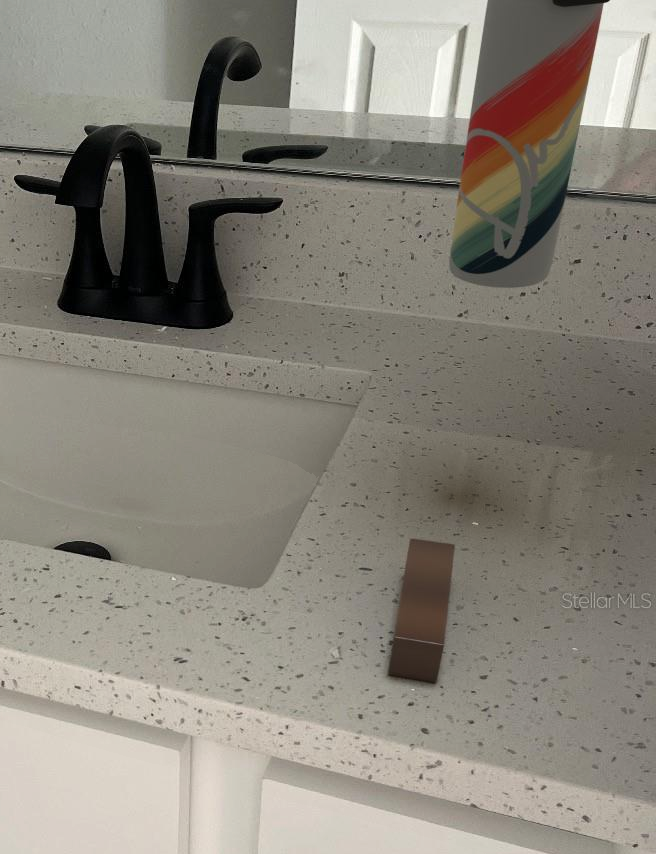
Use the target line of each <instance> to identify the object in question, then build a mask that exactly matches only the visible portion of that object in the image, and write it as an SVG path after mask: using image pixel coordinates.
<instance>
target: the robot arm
mask: <svg viewBox="0 0 656 854" xmlns="http://www.w3.org/2000/svg"><path fill="white" fill-rule="evenodd" d="M552 1H553V4H554V5H557V6H561V7H569V6H579V5H589V4H599V3H604V4H606V3H608V2H610V1H611V0H552Z"/></svg>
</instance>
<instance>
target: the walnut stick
mask: <svg viewBox="0 0 656 854" xmlns="http://www.w3.org/2000/svg"><path fill="white" fill-rule="evenodd" d="M455 546H456V545H455V544H454V543H449V542H440V541H433V540H427V539H420V538H412V537H411V538H410V539H409V543H408V549H407V554H406V560H405V561H406V562H405V568H404V574H403V579H402V585H401V591H400V597H399V604H398V608H397V615H396V620H395V621H396V622H395V628H394V633H393V639H392V645H391V651H390V656H389V657H390V658H389V664H388V669H387V675H389V676H392V677H393V676H394V677H399V678H407V679H412V680H417V681H424V682H430V683H437V682H438V678H439V673H440V667H441V663H442V658H443V652H444V647H445V639H446V629H447V623H448V622H447V621H448V612H449V603H450V593H451V584H452V576H453V575H452V574H453V566H454V558H455V549H456V547H455Z"/></svg>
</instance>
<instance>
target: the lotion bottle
mask: <svg viewBox="0 0 656 854" xmlns="http://www.w3.org/2000/svg"><path fill="white" fill-rule="evenodd" d="M604 4H605V3H599V4H589V5H579V6H569V7H561V6H557V5H554V4H553V1H552V0H487V3H486V7H485V15H484V20H483V21H484V22H483V28H482V34H481V40H480V47H479V54H478V60H477V61H478V62H477V67H476V75H475V80H474V86H473V87H474V88H473V95H472V99H471V100H472V101H471V108H470V115H469V121H468V128H467V135H466V140H465V146H464V147H465V148H464V155H463V161H462V167H461V168H462V170H461V173H460V174H461V175H460V180H459V188H458V195H457V202H456V207H455V208H456V209H455V216H454V222H453V229H452V235H451V242H450V251H449V259H448V260H449V261H448V265H449V266H448V267H449V268H448V269H449V271H450V273H451V274H452V275H453V277H455V278H457V279H459V280H461V281H463V282H466V283H469V284H473V285H477V286H481V287H488V288H501V289H512V288H513V289H514V288H515V289H516V288H523V287H524V288H525V287H530V286H534V285H537V284H540V283H542V282H544V281H545V280H546V279H547V278H548V276H549V275H550V273H551V268H552V265H553V261H554V256H555V251H556V247H557V242H558V237H559V232H560V227H561V222H562V217H563V212H564V208H565V203H566V198H567V197H566V196H567V191H568V187H569V182H570V177H571V172H572V167H573V162H574V157H575V151H576V146H577V142H578V136H579V133H580V132H579V131H580V126H581V122H582V117H583V111H584V108H585V107H584V106H585V100H586V96H587V91H588V86H589V82H590V76H591V71H592V66H593V60H594V56H595V50H596V45H597V42H598V35H599V31H600V25H601V19H602V14H603V9H604Z"/></svg>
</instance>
